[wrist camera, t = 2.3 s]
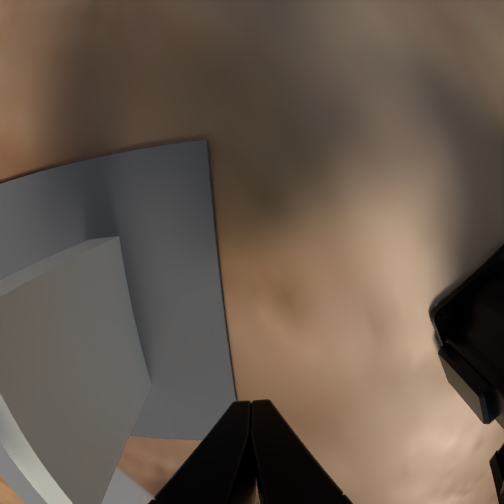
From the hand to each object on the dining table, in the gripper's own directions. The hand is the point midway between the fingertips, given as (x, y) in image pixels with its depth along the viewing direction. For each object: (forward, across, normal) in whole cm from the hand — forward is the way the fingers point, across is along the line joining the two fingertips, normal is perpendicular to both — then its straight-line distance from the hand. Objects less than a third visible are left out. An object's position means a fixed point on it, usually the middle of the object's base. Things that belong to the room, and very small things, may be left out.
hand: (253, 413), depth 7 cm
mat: (+6, +10, 0) cm, 12 cm away
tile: (+6, +6, 0) cm, 8 cm away
